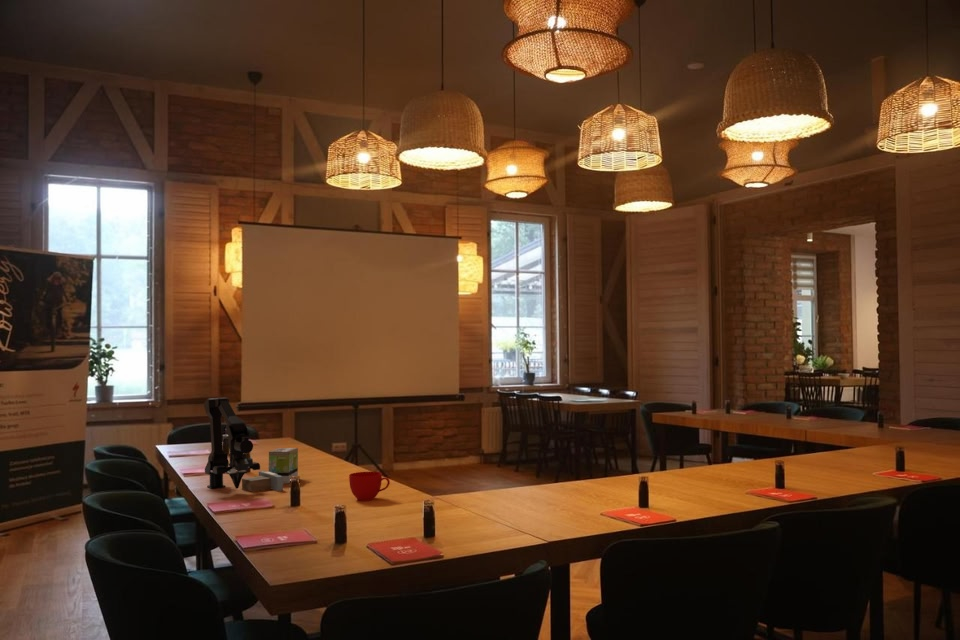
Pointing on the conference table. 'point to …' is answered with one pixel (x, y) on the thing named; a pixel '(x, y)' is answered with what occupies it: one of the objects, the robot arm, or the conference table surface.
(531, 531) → the conference table surface
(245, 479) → the walnut block
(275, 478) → the gray and cream block
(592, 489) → the conference table surface
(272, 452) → the tea box
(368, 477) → the ceramic cup
